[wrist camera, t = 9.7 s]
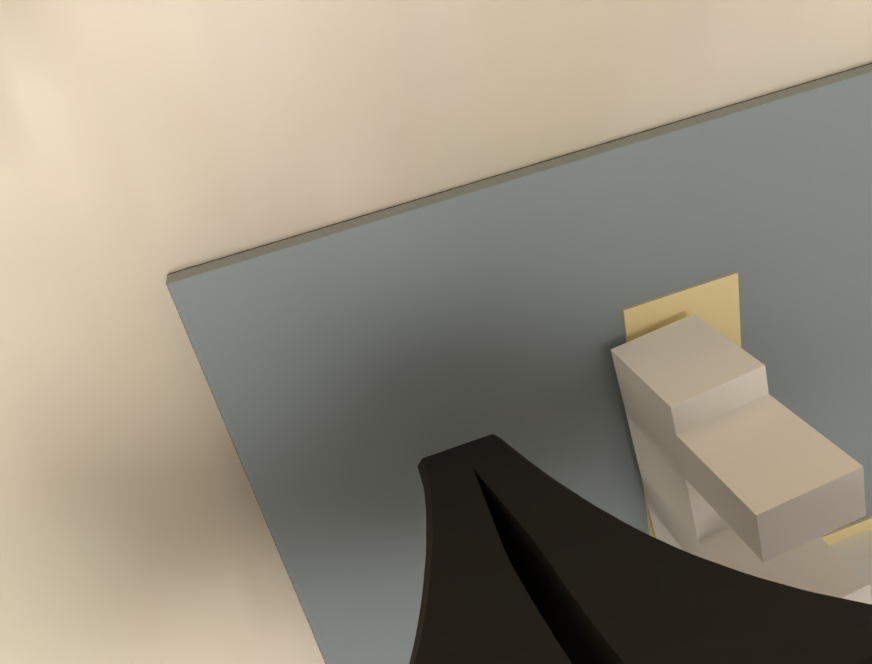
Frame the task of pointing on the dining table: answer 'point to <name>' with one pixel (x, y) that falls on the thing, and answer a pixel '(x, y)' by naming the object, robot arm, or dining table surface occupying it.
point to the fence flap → (736, 462)
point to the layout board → (533, 332)
